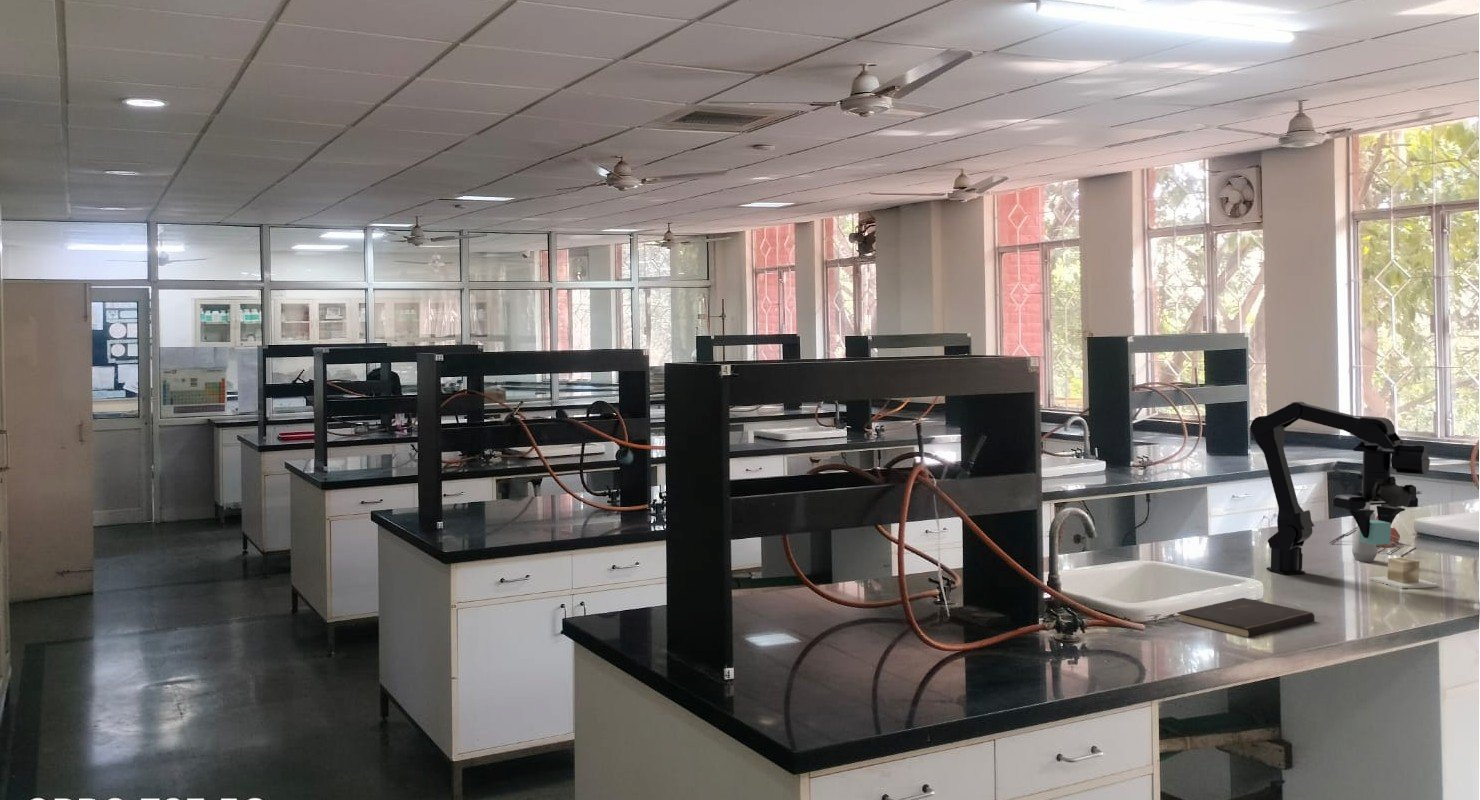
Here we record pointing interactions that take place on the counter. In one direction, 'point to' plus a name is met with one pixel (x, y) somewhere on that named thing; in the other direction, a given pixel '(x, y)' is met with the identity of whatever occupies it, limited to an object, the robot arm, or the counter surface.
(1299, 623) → the hardcover book
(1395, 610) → the counter surface
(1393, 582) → the plate
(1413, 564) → the brick
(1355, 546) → the salt shaker
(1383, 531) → the brick
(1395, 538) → the anatomical diagram
